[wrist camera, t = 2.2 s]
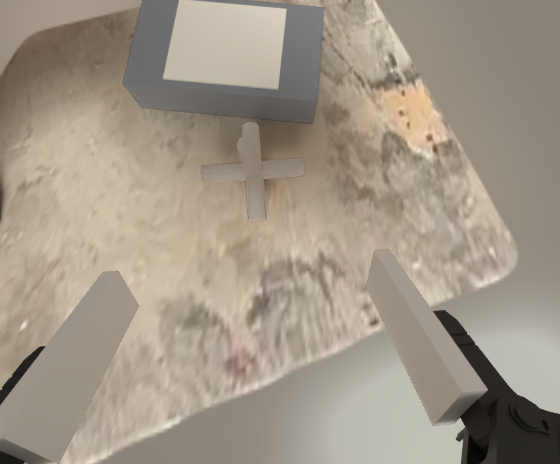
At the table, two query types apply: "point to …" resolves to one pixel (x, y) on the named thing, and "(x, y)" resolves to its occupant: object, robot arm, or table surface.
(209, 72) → the grey flat block
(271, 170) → the pipe connector
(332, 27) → the table surface
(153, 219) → the table surface
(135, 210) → the table surface
